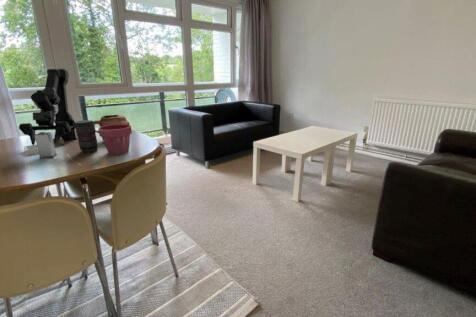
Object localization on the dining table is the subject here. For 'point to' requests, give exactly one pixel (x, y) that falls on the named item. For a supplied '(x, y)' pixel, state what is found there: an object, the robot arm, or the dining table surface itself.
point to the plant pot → (116, 138)
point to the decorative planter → (111, 120)
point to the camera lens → (86, 136)
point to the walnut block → (59, 143)
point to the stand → (31, 150)
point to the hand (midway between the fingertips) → (44, 143)
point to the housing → (45, 145)
